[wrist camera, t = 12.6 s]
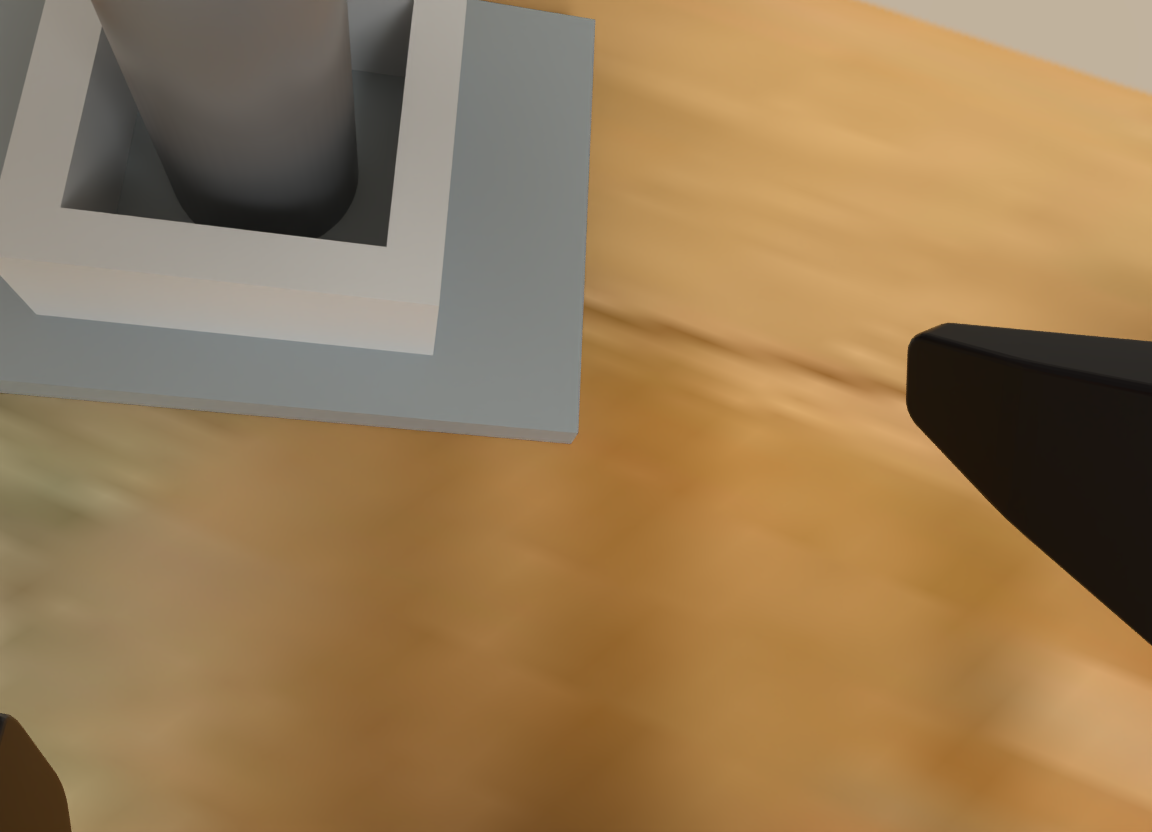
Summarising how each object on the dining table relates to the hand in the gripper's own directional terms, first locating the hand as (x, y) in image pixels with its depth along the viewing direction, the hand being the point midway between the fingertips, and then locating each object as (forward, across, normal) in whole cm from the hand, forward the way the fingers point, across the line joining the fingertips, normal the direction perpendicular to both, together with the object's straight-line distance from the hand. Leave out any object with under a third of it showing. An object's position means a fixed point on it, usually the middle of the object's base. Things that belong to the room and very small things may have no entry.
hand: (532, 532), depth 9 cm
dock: (+18, 0, +1) cm, 18 cm away
